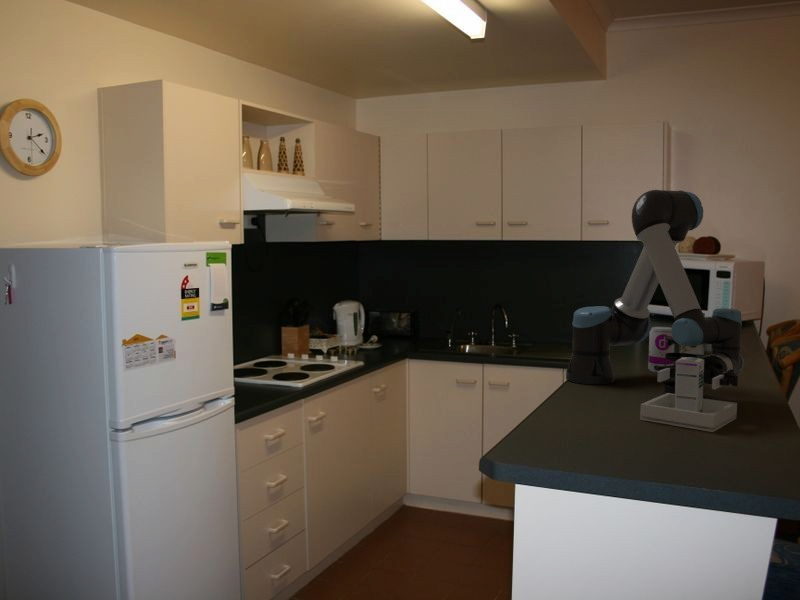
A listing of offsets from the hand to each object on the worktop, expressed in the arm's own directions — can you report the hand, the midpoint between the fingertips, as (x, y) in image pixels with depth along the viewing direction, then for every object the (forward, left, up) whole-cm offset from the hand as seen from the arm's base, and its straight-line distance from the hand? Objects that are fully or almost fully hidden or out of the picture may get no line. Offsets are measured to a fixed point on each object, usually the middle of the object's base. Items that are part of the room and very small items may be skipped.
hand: (685, 380), depth 188 cm
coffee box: (-37, +111, -11) cm, 118 cm away
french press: (-12, +30, -11) cm, 34 cm away
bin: (0, +3, -11) cm, 11 cm away
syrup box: (0, +3, -10) cm, 10 cm away
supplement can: (-31, +64, -11) cm, 72 cm away
